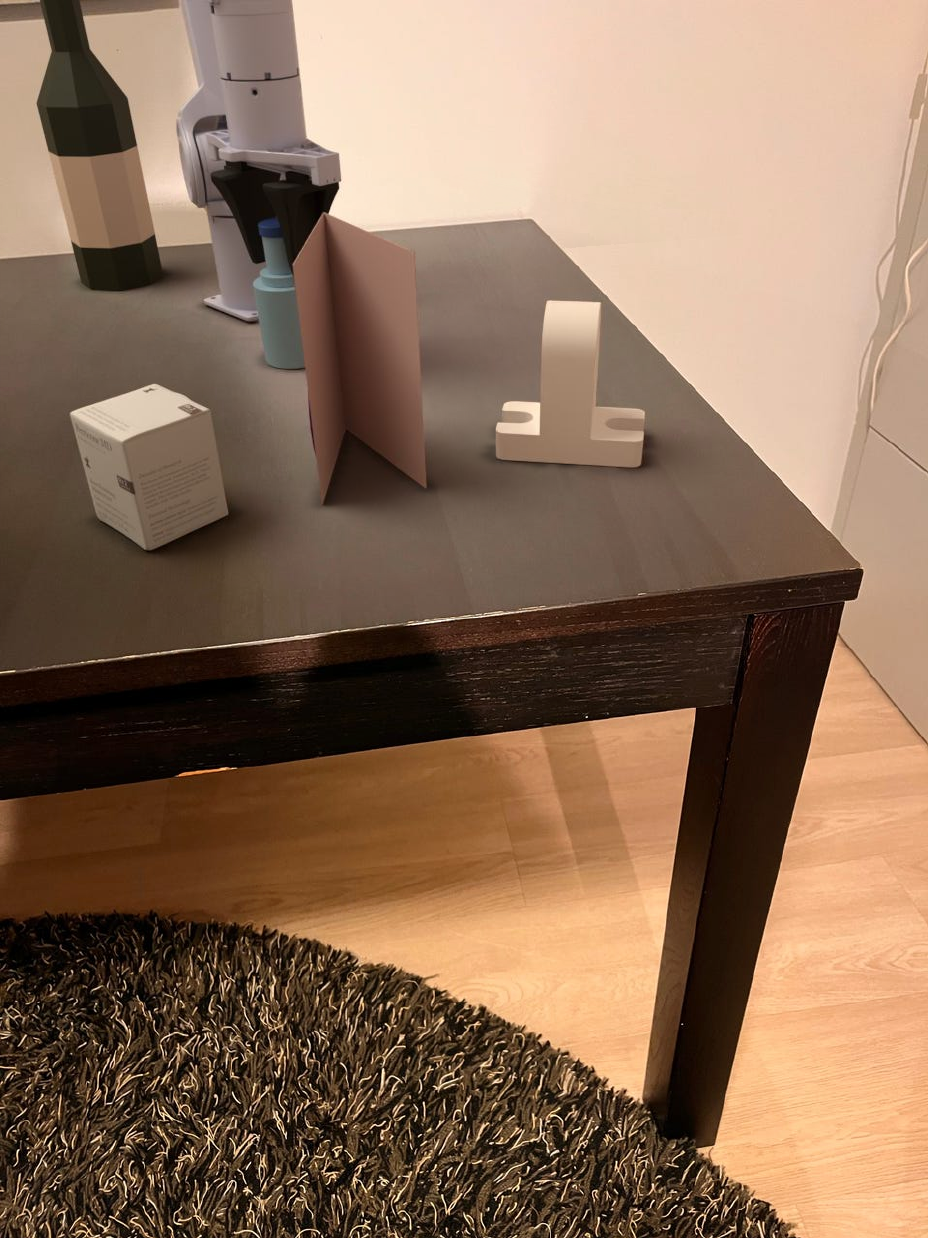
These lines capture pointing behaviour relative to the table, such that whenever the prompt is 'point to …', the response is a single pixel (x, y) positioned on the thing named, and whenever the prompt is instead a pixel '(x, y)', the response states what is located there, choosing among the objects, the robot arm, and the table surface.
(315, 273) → the greeting card
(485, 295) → the table surface
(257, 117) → the robot arm
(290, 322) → the bottle
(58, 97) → the wine bottle
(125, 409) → the product carton
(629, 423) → the white mounting bracket
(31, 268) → the table surface
